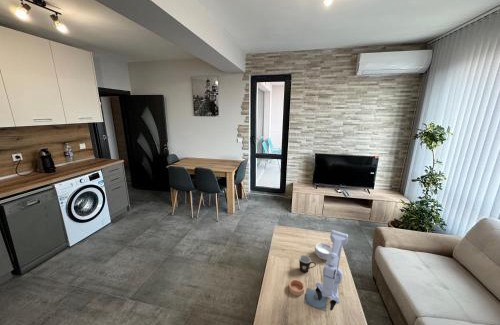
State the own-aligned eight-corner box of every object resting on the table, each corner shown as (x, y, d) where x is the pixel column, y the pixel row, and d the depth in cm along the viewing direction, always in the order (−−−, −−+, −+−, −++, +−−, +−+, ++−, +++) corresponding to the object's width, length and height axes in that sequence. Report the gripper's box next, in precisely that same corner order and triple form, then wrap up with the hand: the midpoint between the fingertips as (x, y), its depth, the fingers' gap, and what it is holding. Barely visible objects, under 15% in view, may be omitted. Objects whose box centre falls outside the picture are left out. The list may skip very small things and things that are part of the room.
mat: (307, 288, 140) (307, 287, 140) (327, 295, 135) (327, 294, 135) (303, 303, 128) (303, 303, 128) (325, 312, 123) (325, 311, 123)
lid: (307, 287, 140) (307, 283, 139) (327, 294, 135) (327, 289, 134) (303, 303, 128) (304, 298, 127) (325, 311, 123) (326, 306, 122)
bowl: (290, 282, 145) (291, 277, 144) (305, 287, 141) (305, 282, 140) (287, 293, 136) (287, 288, 135) (302, 298, 132) (302, 293, 131)
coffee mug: (296, 270, 156) (297, 259, 153) (301, 264, 162) (302, 253, 160) (310, 278, 148) (311, 267, 146) (315, 272, 154) (316, 260, 152)
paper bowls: (330, 251, 179) (331, 243, 177) (335, 263, 164) (336, 254, 162) (312, 249, 180) (313, 241, 178) (316, 261, 165) (317, 253, 163)
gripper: (312, 279, 117) (310, 298, 120) (336, 298, 106) (333, 318, 109) (320, 274, 121) (318, 292, 125) (343, 291, 110) (340, 311, 113)
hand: (325, 304), depth 117 cm, fingers open, 7 cm apart
